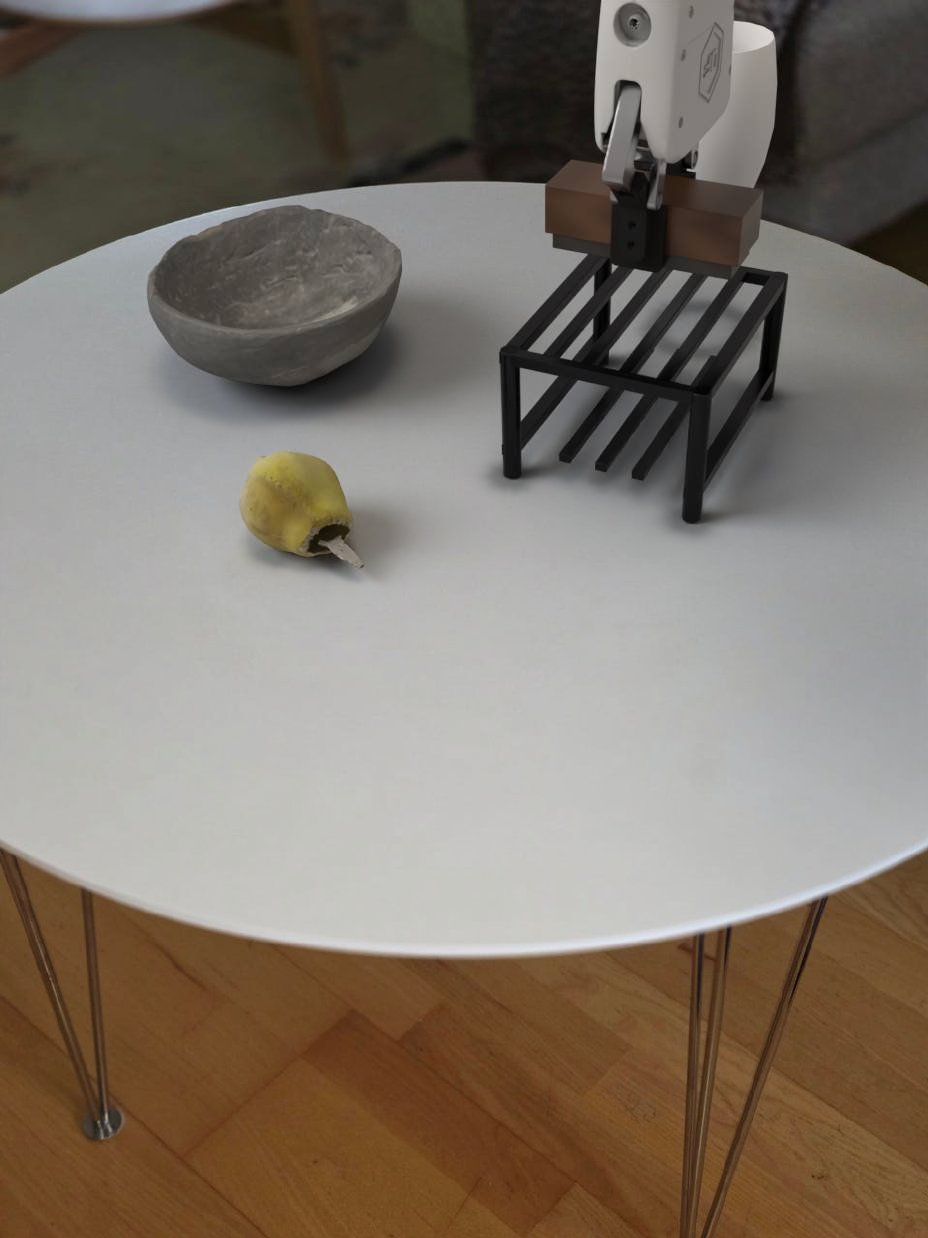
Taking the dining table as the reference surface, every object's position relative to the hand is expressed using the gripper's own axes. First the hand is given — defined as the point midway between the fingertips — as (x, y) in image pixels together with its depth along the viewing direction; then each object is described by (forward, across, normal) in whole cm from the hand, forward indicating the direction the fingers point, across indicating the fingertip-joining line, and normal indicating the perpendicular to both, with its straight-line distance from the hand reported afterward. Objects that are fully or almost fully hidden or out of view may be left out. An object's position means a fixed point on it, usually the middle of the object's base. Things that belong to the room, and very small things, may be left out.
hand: (651, 246), depth 82 cm
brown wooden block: (0, 0, 0) cm, 0 cm away
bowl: (+13, -1, +27) cm, 30 cm away
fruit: (+13, -19, +14) cm, 27 cm away
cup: (+13, +15, +1) cm, 20 cm away
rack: (+13, 0, 0) cm, 13 cm away
